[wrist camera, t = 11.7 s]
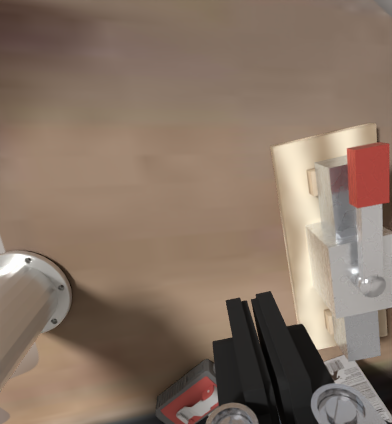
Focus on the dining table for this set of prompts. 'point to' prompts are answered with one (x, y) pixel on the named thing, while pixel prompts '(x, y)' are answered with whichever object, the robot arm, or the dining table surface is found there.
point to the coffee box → (356, 382)
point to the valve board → (311, 219)
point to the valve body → (345, 264)
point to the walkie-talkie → (190, 396)
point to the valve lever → (369, 211)
